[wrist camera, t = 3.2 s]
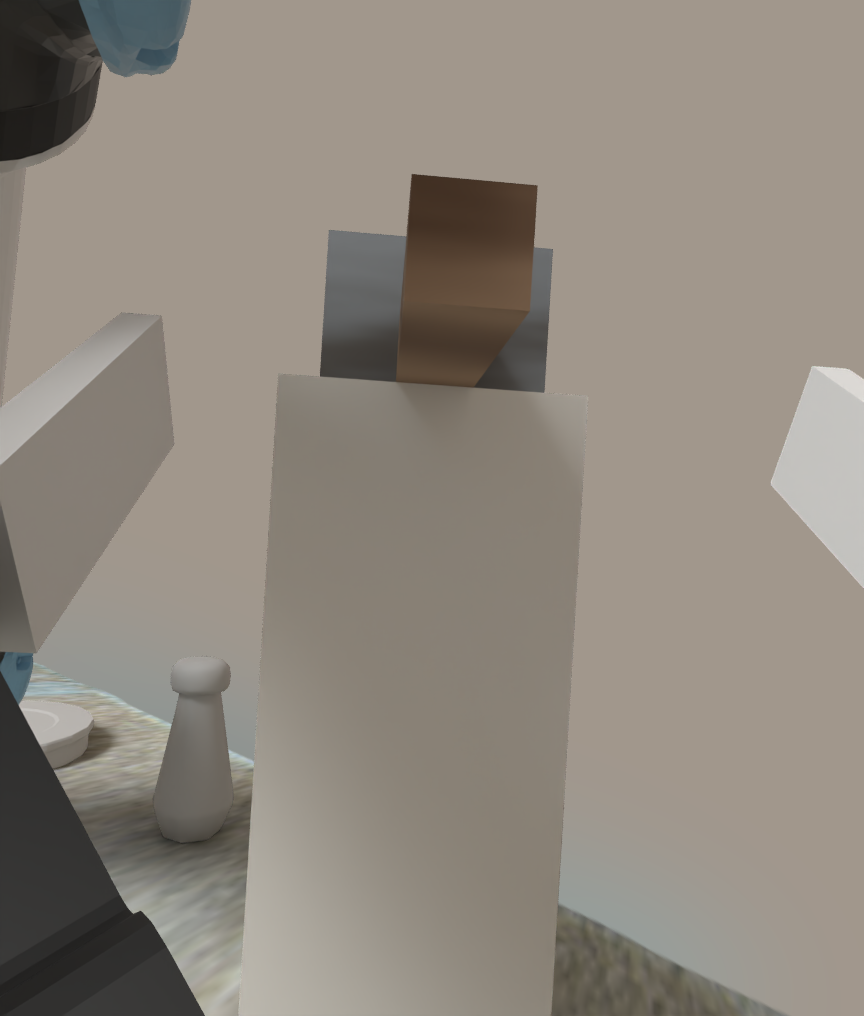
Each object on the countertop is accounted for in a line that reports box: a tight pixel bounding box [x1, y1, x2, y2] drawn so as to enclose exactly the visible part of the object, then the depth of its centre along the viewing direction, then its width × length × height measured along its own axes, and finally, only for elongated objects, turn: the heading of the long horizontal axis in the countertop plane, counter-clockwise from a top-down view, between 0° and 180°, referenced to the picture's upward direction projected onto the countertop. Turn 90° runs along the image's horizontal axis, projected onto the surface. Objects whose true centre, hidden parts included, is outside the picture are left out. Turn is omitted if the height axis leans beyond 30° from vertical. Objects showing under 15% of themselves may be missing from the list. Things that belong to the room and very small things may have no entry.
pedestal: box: [238, 374, 588, 1016], centre depth 35 cm, size 14×12×30 cm
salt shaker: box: [153, 656, 234, 843], centre depth 56 cm, size 6×6×13 cm
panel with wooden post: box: [320, 174, 553, 393], centre depth 26 cm, size 18×9×6 cm, turn 4°
